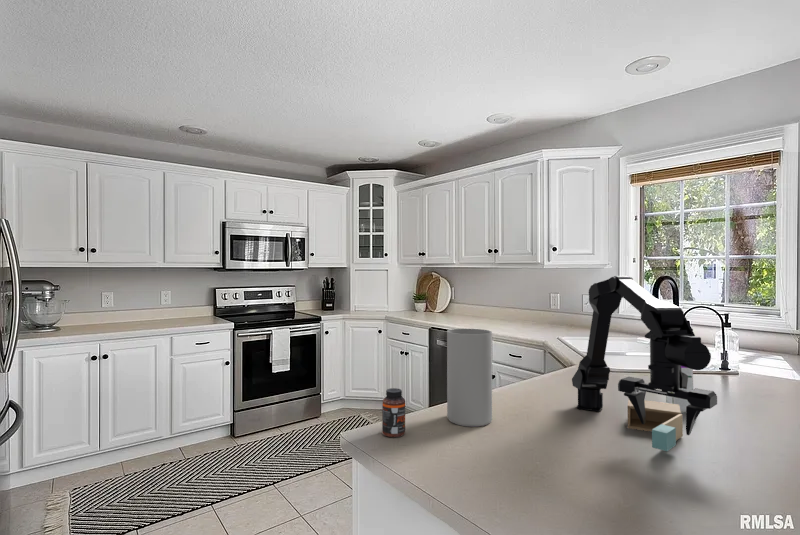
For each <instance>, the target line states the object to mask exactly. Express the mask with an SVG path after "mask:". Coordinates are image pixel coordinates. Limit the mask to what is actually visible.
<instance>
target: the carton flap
mask: <svg viewBox="0 0 800 535" xmlns="http://www.w3.org/2000/svg"><path fill="white" fill-rule="evenodd" d="M683 431H684V430H683V414H682V413H681V414H679V415H677V416H675V417H673V418H671V419H670V420H668V421H666V422H664V423H663V424H661V425H659V426H657V427H656V428H654V429H652V432H651V447H652V448H654V449H658V450H660V451H664V452H669V450H671V449H672V448H674V447H675V446H676V445H677V441H678V440H680V439H681V438H682V437H683V436H684V434H683Z"/></svg>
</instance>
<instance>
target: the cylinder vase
mask: <svg viewBox="0 0 800 535" xmlns="http://www.w3.org/2000/svg"><path fill="white" fill-rule="evenodd" d="M446 345H447V346H446V348H447V349H446V355H447V356H446V362H447V364H446V365H447V366H446V368H447V369H446V371H447V372H446V378H447V379H446V384H447V385H446V395H447V396H446V397H447V398H446V400H447V401H446V404H447V406H446V407H447V408H446V410H447V413H446V415H447V419H448V421H449V422H450V423H452V424H455V425H457V426H463V427H468V428H469V427H471V428H472V427H473V428H475V427H477V428H478V427H483V426H487V425H488V424H490V423H492V420H493V331H492V330H488V329H481V328H452V329H447V331H446Z"/></svg>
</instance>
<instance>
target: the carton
mask: <svg viewBox="0 0 800 535" xmlns="http://www.w3.org/2000/svg"><path fill="white" fill-rule="evenodd" d="M644 401H645V414H646V420H645V424H642V423H641V421H640V419H639V417H638V415H637V412H636V410H635V408H634V406H633V405H632V403H631V401H630V400H629V399H628V400H627V429H630V430H636V429H637V430H638V431H643V430H644V431H643V432H649V431H652V429H654V428H656V427H657V426H659V425H661V424H663V423H664V422H666V421H668V420H670V419H671V418H673V417H675V416H677V415H679V414H682V412H681V411H680V407H679V405H678V404H671V403H666V402H664V401H663V402H660V401H654V400H646V399H644Z"/></svg>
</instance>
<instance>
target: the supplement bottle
mask: <svg viewBox="0 0 800 535" xmlns="http://www.w3.org/2000/svg"><path fill="white" fill-rule="evenodd" d="M402 393H403V391H402V389H400V388H396V387H395V388H394V387H392V388H387V389H386V393H385V395H386V396H385V397H384V398H383V399H382V419H381V420H382V422H381V424H382V427H381V428H382V430H381V432H382V435H383V436H384V437H387V438H399V437H402V436H404V435H405V434H406V399H405V398H404V397H403V394H402Z"/></svg>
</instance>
